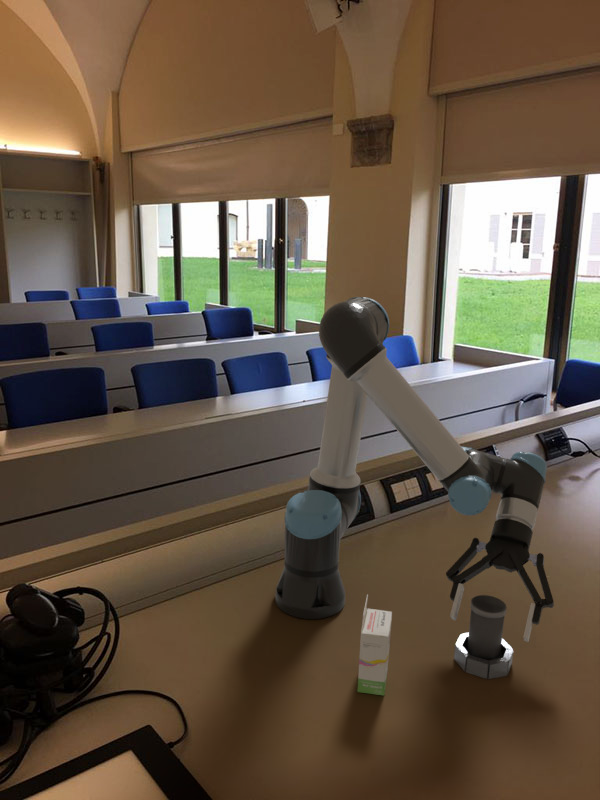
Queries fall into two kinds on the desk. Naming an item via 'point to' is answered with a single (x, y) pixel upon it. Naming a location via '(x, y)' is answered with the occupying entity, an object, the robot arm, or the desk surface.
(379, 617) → the ink box
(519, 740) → the desk surface
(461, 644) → the collar
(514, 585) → the desk surface
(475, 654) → the tube
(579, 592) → the desk surface
